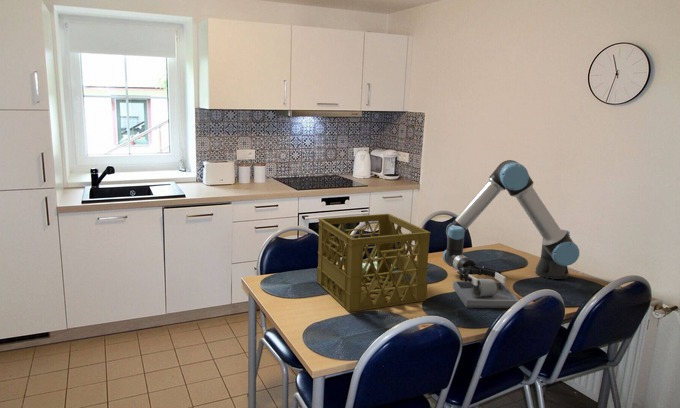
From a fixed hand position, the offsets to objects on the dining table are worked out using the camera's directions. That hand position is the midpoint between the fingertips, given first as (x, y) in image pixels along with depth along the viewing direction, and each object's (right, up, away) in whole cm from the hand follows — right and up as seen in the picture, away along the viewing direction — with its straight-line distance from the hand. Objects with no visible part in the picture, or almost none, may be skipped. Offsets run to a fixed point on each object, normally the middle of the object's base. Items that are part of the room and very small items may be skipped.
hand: (490, 281), depth 214 cm
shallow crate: (-1, -8, +5) cm, 9 cm away
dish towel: (-44, +1, +44) cm, 62 cm away
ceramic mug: (-2, -7, +6) cm, 9 cm away
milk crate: (-51, -6, +8) cm, 52 cm away
